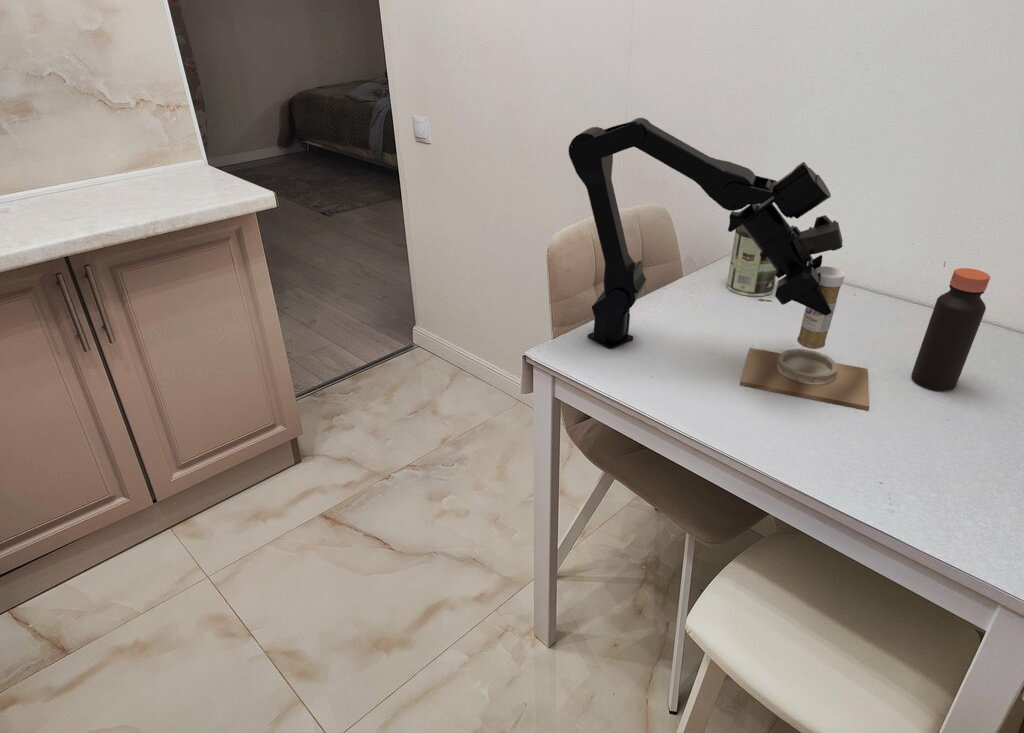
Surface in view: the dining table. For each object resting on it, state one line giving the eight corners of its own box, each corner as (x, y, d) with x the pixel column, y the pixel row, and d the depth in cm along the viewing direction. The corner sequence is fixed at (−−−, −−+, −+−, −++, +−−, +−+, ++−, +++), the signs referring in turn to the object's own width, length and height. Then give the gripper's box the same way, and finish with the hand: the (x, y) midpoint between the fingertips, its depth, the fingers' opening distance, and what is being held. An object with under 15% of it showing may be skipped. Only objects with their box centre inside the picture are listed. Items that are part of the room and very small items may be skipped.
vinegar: (903, 380, 115) (939, 272, 105) (921, 367, 119) (958, 262, 109) (944, 396, 110) (986, 285, 100) (962, 383, 114) (1005, 274, 104)
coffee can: (770, 280, 153) (782, 220, 146) (776, 298, 145) (789, 236, 138) (724, 277, 155) (733, 218, 148) (727, 295, 147) (737, 233, 139)
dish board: (739, 385, 114) (742, 372, 113) (748, 351, 124) (751, 339, 123) (868, 410, 107) (872, 397, 106) (866, 372, 117) (870, 360, 116)
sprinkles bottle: (790, 340, 115) (808, 268, 108) (810, 335, 117) (828, 263, 110) (811, 352, 111) (830, 278, 105) (831, 346, 113) (851, 273, 106)
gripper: (816, 222, 96) (879, 305, 98) (820, 189, 111) (874, 261, 113) (749, 265, 103) (809, 341, 105) (761, 228, 117) (814, 296, 119)
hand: (829, 308), depth 110 cm, fingers closed on sprinkles bottle, 4 cm apart
